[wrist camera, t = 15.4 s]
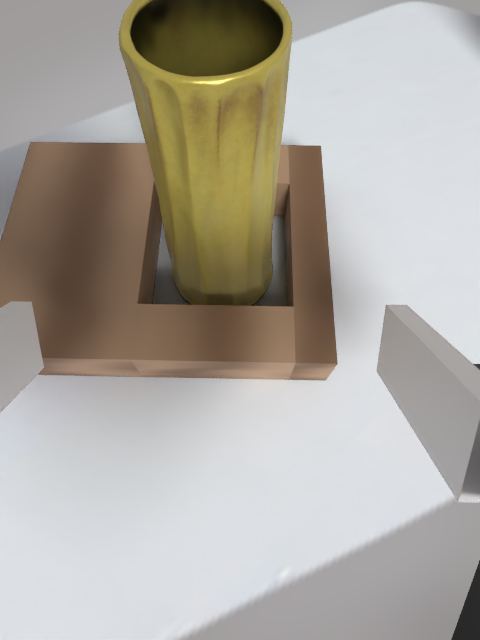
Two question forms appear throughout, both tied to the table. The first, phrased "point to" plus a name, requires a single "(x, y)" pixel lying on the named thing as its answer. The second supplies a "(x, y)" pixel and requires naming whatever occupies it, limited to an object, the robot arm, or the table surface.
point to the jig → (140, 269)
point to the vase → (212, 134)
